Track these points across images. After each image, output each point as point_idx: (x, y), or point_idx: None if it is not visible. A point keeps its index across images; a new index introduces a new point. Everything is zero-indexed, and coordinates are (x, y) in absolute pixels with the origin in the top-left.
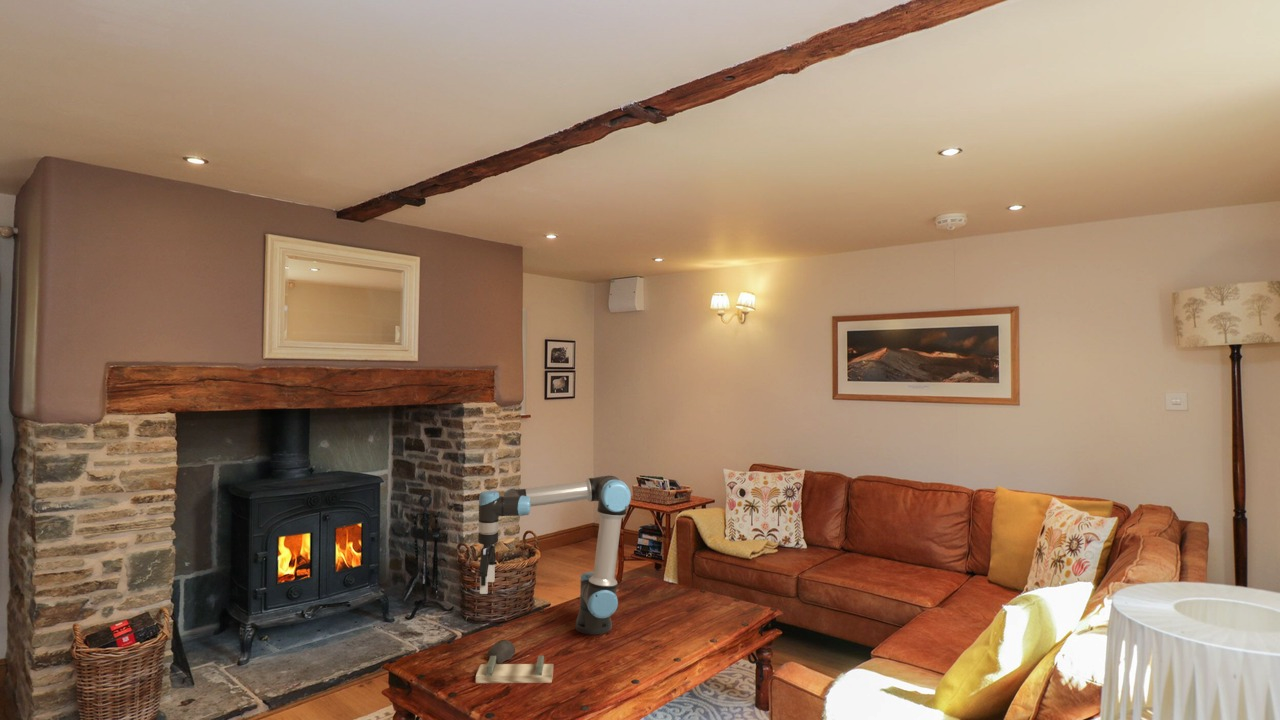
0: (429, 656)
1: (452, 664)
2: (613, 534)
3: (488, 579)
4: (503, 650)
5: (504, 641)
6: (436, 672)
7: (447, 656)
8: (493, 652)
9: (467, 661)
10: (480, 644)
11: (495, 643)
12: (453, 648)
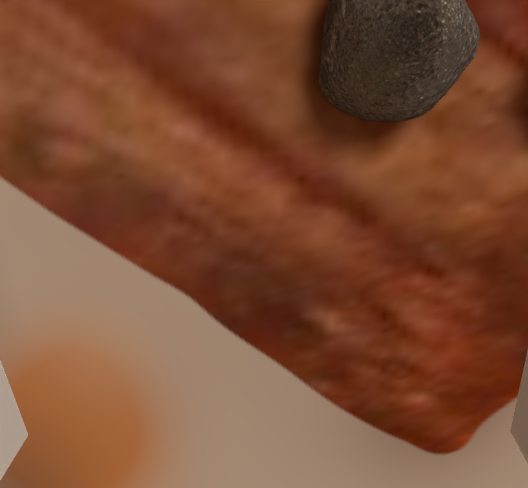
0: (357, 372)
1: (445, 266)
2: None
3: (2, 451)
4: (465, 6)
5: (442, 8)
6: (523, 308)
7: (356, 307)
8: (455, 76)
9: (415, 209)
10: (208, 197)
11: (409, 82)
12: (268, 305)
